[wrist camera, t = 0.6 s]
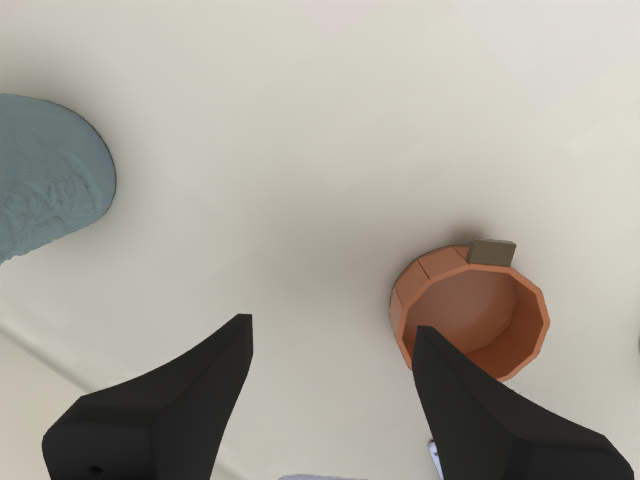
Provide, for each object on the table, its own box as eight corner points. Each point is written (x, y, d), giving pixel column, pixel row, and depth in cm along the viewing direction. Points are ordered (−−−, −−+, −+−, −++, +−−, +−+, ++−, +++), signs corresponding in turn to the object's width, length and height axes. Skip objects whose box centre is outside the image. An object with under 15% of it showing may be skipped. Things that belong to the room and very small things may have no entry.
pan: (378, 363, 26) (384, 397, 22) (404, 219, 22) (416, 234, 18) (493, 375, 25) (516, 412, 22) (541, 232, 21) (578, 251, 18)
